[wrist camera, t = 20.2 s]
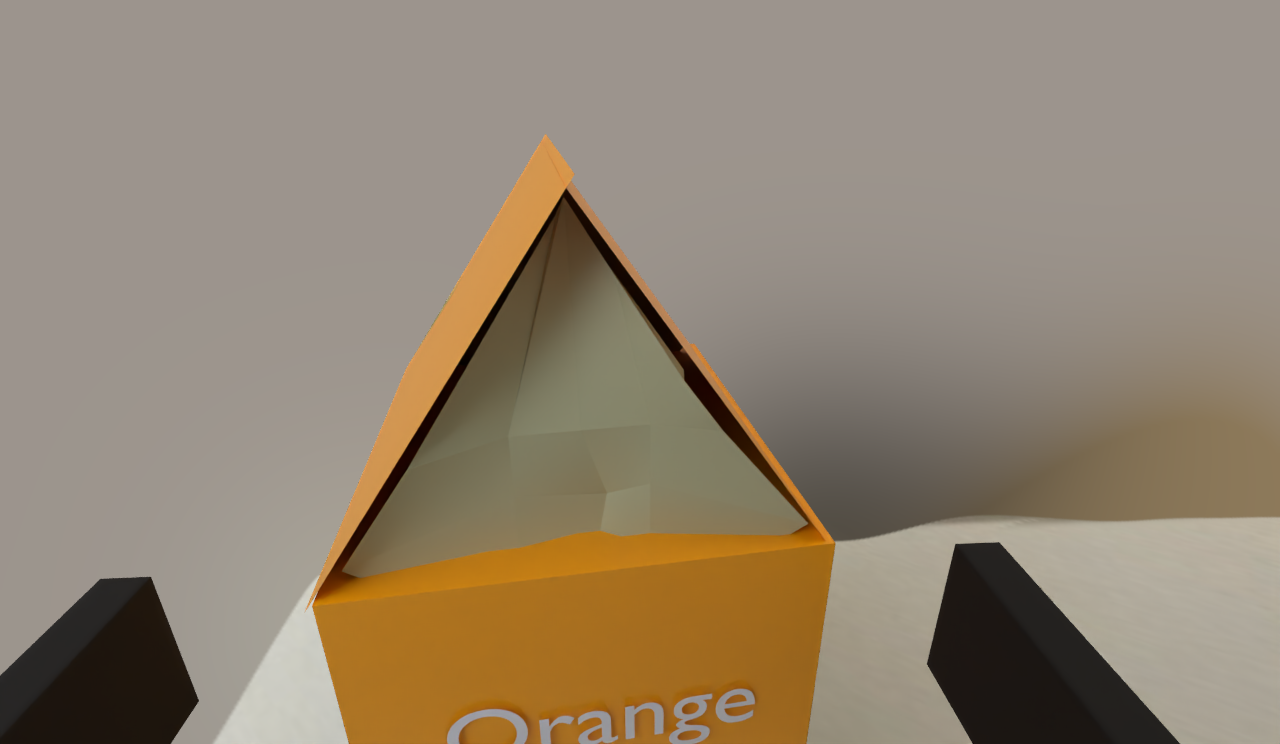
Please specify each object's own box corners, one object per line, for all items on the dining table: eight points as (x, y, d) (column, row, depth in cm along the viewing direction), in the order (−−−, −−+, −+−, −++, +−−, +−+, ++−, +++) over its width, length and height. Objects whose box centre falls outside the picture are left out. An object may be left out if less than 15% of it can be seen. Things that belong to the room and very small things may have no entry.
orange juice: (685, 713, 23) (705, 131, 15) (771, 1033, 15) (905, 168, 7) (466, 748, 22) (366, 135, 14) (436, 1115, 14) (169, 184, 6)
